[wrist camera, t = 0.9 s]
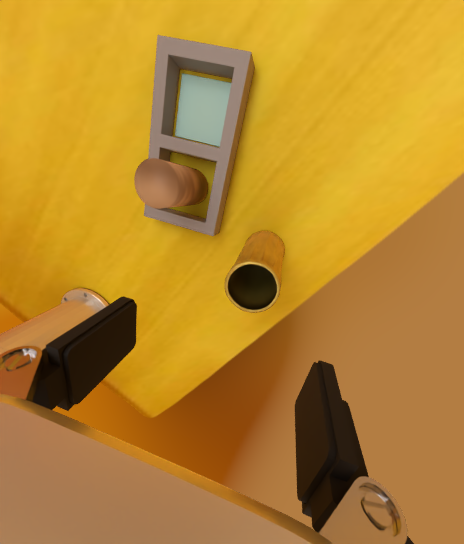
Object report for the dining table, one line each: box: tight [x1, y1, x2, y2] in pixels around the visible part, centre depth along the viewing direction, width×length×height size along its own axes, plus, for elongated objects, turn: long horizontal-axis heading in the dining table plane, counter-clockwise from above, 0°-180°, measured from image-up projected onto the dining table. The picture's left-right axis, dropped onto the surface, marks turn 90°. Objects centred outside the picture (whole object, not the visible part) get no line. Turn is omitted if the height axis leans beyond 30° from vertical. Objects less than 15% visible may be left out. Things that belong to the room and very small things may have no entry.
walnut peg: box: [135, 158, 208, 209], centre depth 27 cm, size 5×5×10 cm
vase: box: [225, 231, 285, 313], centre depth 26 cm, size 6×6×14 cm
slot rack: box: [144, 35, 255, 236], centre depth 29 cm, size 20×11×3 cm, turn 166°
